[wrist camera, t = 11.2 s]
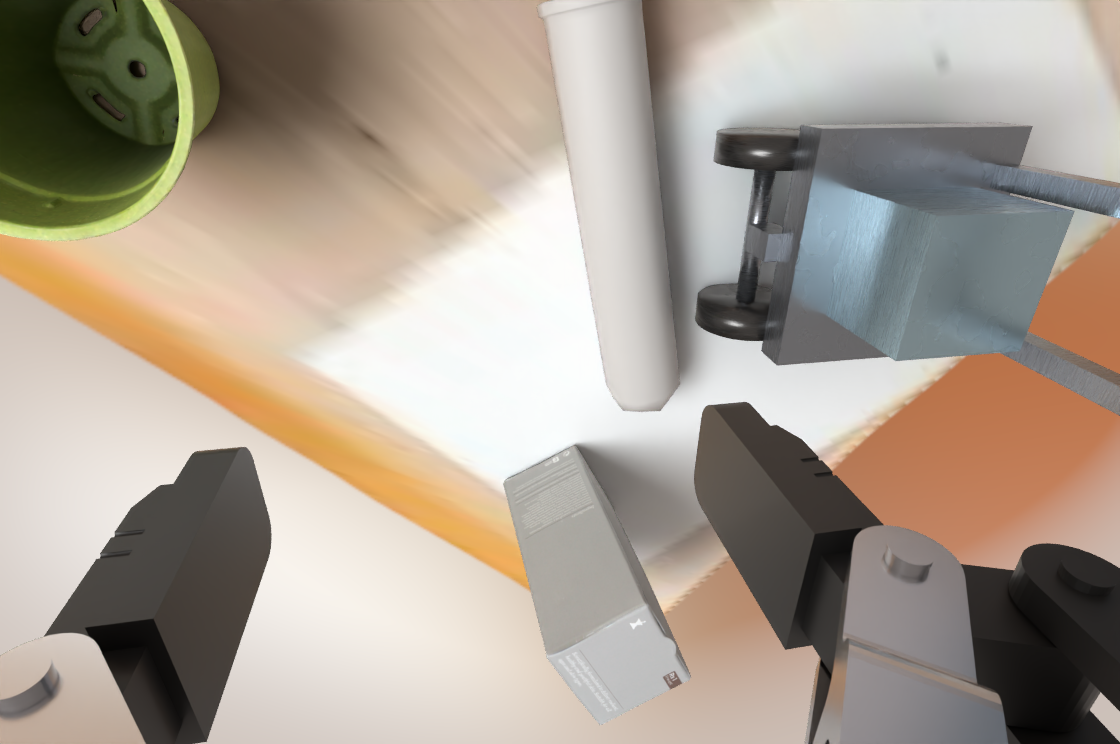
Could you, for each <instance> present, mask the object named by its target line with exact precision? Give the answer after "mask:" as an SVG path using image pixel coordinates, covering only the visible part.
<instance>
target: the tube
mask: <svg viewBox="0 0 1120 744" xmlns="http://www.w3.org/2000/svg"><path fill="white" fill-rule="evenodd" d="M537 12H538V17H540V18H541V19H543V22H544V26H545V31H546V37H547V43H548V49H549V55H550V61H551V66H552V72H553V78H554V84H555V90H556V96H557V101H558V107H559V113H560V119H561V125H562V130H563V136H564V142H565V148H566V154H567V160H568V165H569V171H570V177H571V183H572V189H573V195H574V200H575V206H576V212H577V218H578V224H579V229H580V235H581V241H582V247H583V253H584V259H585V264H586V270H587V276H588V282H589V288H590V294H591V299H592V305H593V311H594V317H595V323H596V328H597V334H598V340H599V346H600V352H601V358H602V363H603V369H604V375H605V381H606V385H607V387H608V389H609V391H610V393H611V395H612V397H613V399H614V400H615V401H616V402H617V404H618V405H619V406H620V407H621V409H622V410H623V411H636V412H645V411H661V409H662V408H663V407H664V405H665V404H666V403H667V401H668V400H669V399H670V397H671V396H672V395H673V393H674V392H675V390H676V389H677V388H678V386H679V385H680V378H679V368H678V358H677V348H676V338H675V328H674V318H673V308H672V299H671V289H670V279H669V269H668V259H667V249H666V239H665V229H664V219H663V209H662V199H661V189H660V180H659V170H658V160H657V150H656V140H655V130H654V120H653V110H652V100H651V90H650V80H649V70H648V60H647V51H646V41H645V31H644V21H643V11H642V0H551V1H547V2H543V3H541V4H539V5H537Z"/></svg>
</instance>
